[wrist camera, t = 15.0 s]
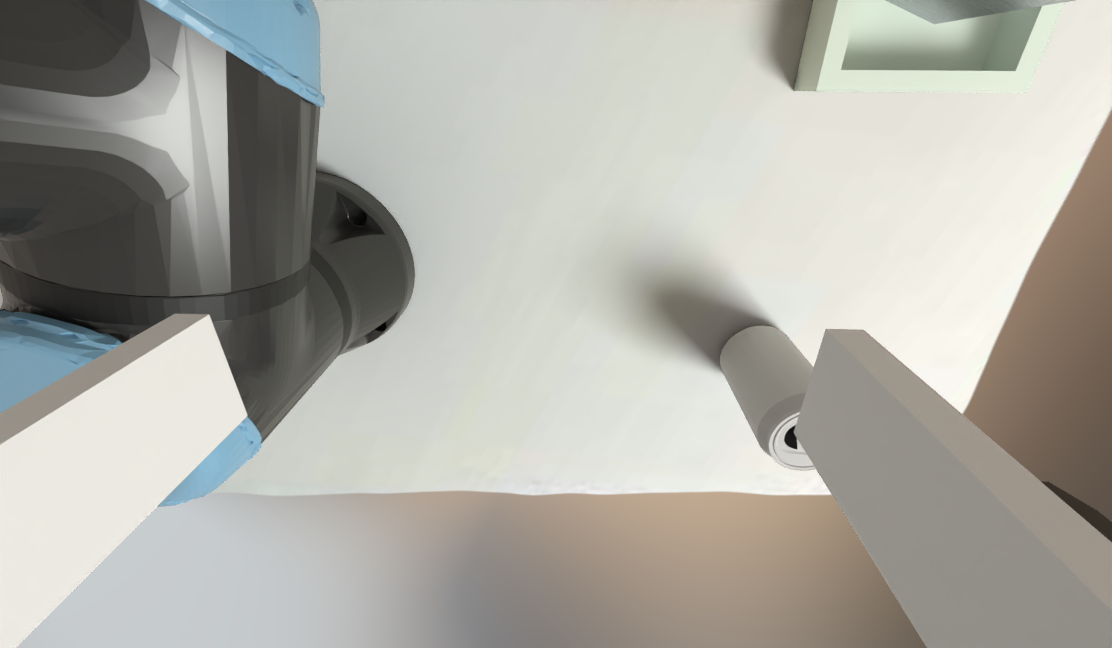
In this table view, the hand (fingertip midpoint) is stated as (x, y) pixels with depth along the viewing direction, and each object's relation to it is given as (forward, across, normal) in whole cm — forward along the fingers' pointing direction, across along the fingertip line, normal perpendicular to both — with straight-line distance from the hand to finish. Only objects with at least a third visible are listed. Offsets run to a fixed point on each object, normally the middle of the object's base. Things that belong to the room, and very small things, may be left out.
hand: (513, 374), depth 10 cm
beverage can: (+29, +18, -16) cm, 38 cm away
